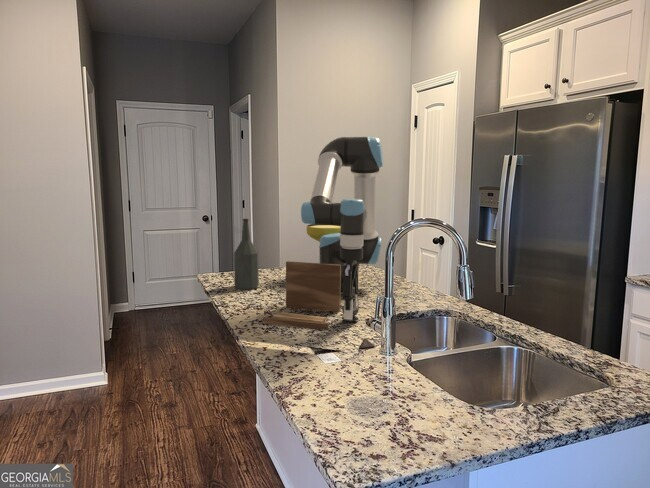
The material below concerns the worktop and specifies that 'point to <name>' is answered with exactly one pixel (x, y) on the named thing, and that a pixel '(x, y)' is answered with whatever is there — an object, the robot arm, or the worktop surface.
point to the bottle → (246, 262)
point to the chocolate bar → (364, 345)
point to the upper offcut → (300, 317)
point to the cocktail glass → (321, 230)
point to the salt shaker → (355, 309)
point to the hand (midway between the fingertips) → (350, 316)
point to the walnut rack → (311, 291)
